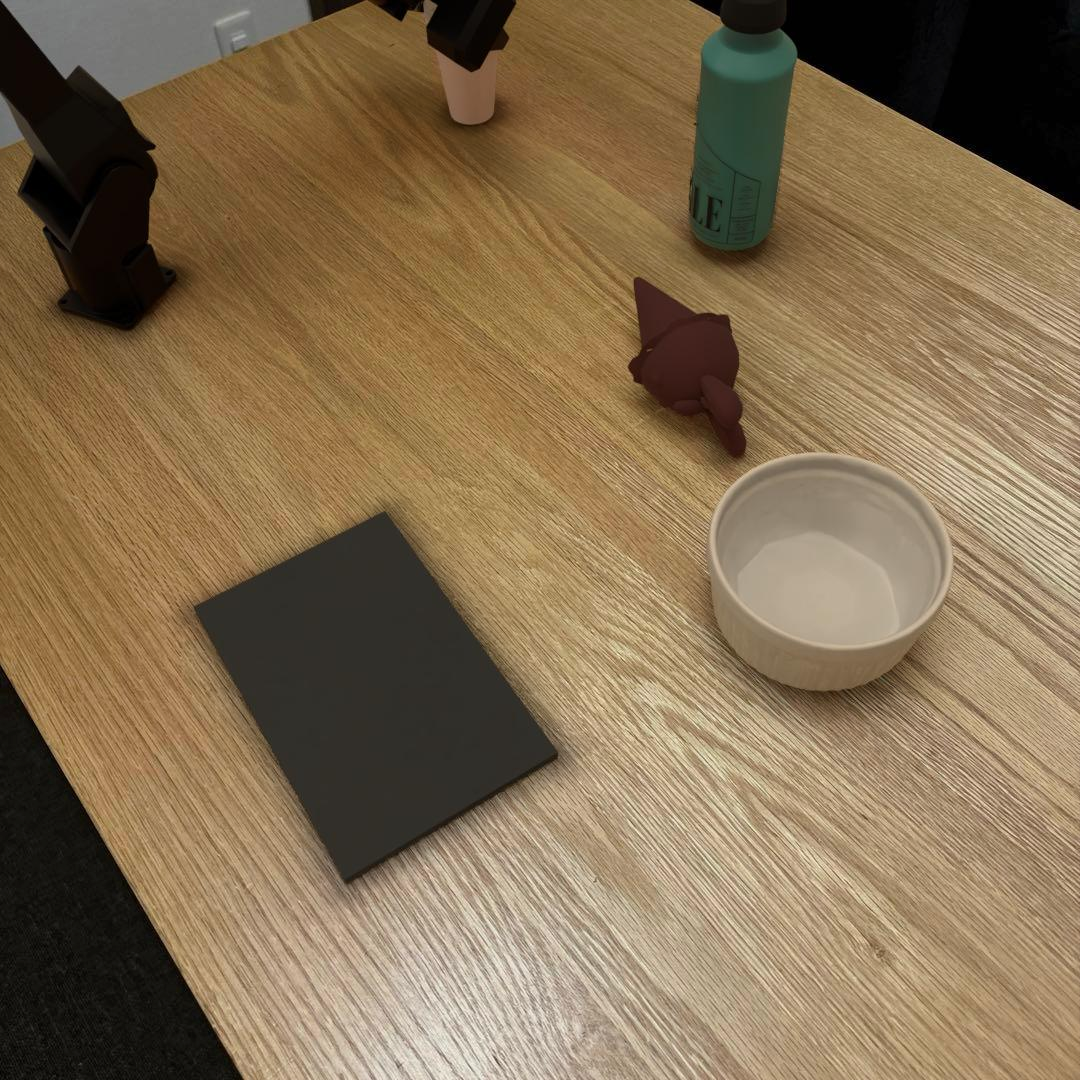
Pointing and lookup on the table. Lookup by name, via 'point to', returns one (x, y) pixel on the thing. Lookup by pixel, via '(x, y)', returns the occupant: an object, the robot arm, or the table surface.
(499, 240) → the table surface
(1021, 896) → the table surface
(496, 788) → the mat
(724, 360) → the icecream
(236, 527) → the table surface
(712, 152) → the beverage bottle
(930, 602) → the ramekin
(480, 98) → the smoothie
